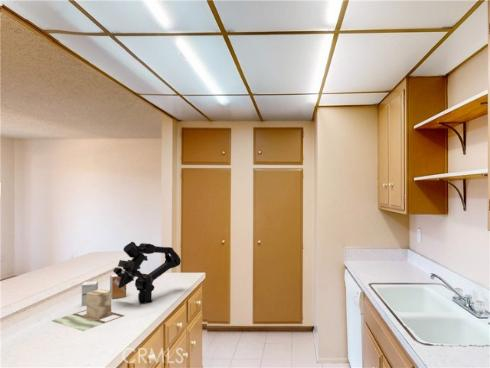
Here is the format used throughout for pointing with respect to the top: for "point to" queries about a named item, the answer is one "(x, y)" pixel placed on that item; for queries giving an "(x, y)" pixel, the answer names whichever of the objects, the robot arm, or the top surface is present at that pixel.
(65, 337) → the top surface
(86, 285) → the supplement box
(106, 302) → the birch block
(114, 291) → the small box
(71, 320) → the lane board
